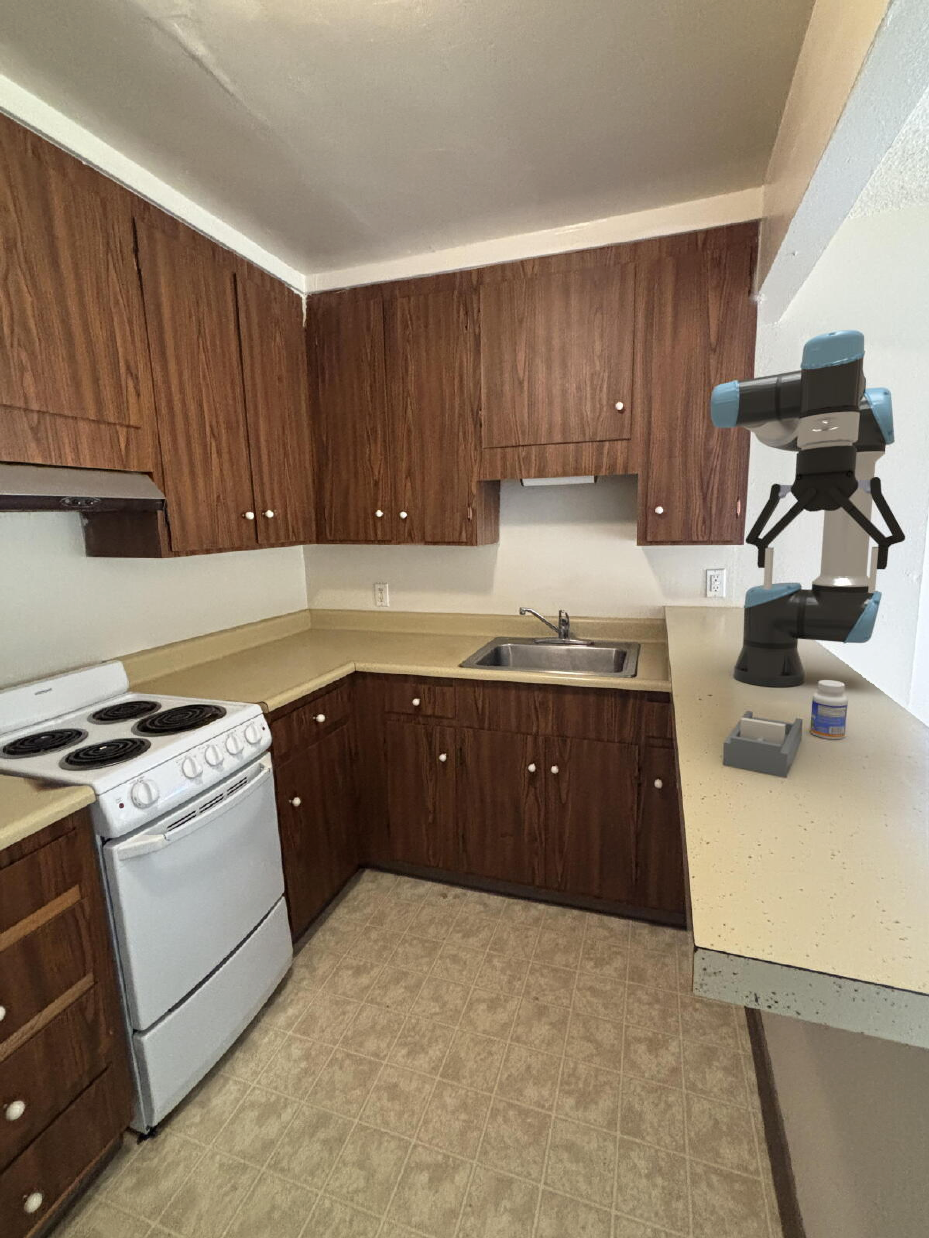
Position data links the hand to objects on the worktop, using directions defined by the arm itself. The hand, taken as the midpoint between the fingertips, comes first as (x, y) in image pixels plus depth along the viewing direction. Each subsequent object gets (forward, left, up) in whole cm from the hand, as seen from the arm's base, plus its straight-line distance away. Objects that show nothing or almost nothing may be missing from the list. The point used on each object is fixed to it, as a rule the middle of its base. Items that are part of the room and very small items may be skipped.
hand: (817, 590), depth 86 cm
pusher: (+3, -6, -27) cm, 28 cm away
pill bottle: (-15, +2, -28) cm, 32 cm away
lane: (-1, -6, -28) cm, 29 cm away
